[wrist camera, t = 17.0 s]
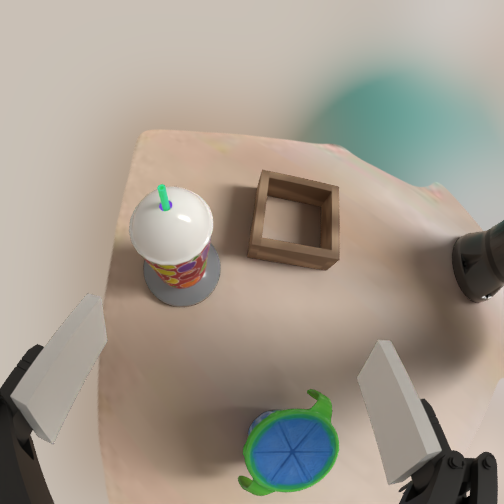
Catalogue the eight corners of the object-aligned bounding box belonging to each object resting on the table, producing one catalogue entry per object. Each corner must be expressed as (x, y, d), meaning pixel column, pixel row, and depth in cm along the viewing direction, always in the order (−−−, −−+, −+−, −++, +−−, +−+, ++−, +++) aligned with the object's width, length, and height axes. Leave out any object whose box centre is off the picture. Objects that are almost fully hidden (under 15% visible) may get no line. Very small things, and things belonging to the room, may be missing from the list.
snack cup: (285, 370, 38) (308, 373, 28) (336, 413, 36) (370, 424, 27) (207, 447, 32) (207, 474, 23) (263, 487, 31) (279, 519, 21)
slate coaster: (186, 220, 44) (186, 217, 43) (235, 272, 42) (236, 270, 41) (130, 265, 40) (129, 263, 39) (178, 323, 38) (177, 322, 37)
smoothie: (164, 233, 41) (137, 140, 23) (218, 248, 42) (227, 159, 23) (145, 286, 38) (94, 221, 20) (202, 304, 38) (194, 250, 20)
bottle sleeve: (257, 187, 47) (262, 169, 43) (327, 202, 48) (338, 186, 44) (247, 257, 43) (251, 244, 38) (326, 270, 44) (339, 259, 39)
